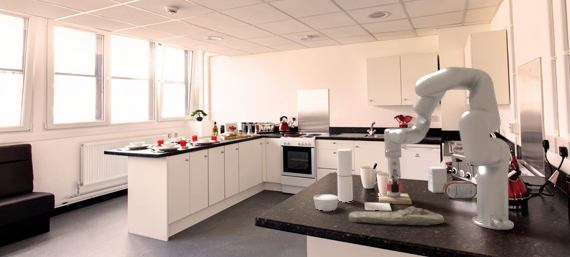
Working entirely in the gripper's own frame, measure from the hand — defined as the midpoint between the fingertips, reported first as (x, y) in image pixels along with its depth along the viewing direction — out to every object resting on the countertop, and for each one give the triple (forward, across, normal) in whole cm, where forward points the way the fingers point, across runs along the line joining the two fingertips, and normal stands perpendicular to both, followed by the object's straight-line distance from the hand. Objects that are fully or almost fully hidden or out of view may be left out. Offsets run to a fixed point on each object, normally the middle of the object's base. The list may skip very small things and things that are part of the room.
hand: (394, 190), depth 151 cm
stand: (+5, 0, 0) cm, 5 cm away
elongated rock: (+5, -32, +3) cm, 33 cm away
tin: (+5, +6, -31) cm, 32 cm away
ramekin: (+5, -18, +31) cm, 36 cm away
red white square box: (-1, 0, 0) cm, 1 cm away
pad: (+5, -13, +9) cm, 17 cm away
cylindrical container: (+5, -4, +23) cm, 24 cm away
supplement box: (+5, +20, -24) cm, 32 cm away
